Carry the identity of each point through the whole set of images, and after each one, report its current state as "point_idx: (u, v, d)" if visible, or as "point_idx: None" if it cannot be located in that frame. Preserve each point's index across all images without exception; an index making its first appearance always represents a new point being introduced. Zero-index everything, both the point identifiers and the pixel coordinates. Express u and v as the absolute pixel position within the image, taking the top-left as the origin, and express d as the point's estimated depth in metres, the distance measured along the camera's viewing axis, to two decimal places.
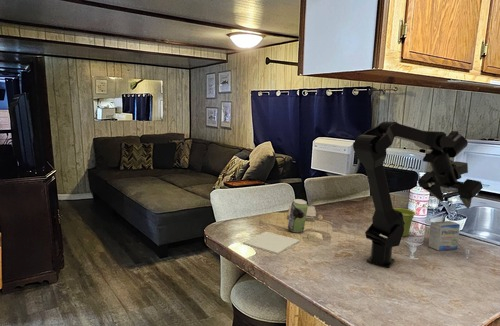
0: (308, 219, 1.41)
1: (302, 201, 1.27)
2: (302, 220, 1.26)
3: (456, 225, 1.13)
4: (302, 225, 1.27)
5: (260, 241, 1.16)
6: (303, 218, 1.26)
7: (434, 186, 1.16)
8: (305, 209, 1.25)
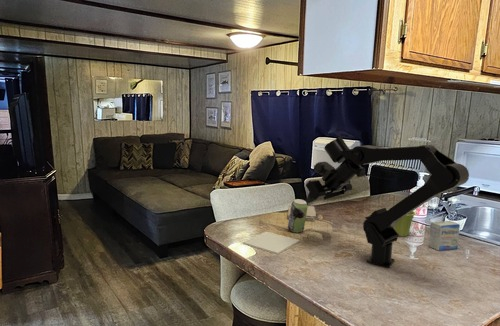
0: (308, 219, 1.41)
1: (302, 201, 1.27)
2: (302, 220, 1.26)
3: (456, 225, 1.13)
4: (302, 225, 1.27)
5: (260, 241, 1.16)
6: (303, 218, 1.26)
7: None
8: (305, 209, 1.25)
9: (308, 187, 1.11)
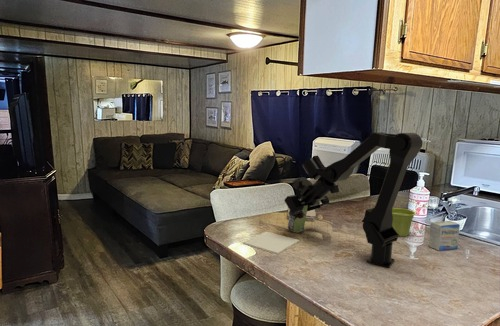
0: (308, 219, 1.41)
1: None
2: (302, 220, 1.26)
3: (456, 225, 1.13)
4: (302, 225, 1.27)
5: (260, 241, 1.16)
6: (303, 218, 1.26)
7: None
8: (305, 209, 1.25)
9: (286, 202, 1.19)
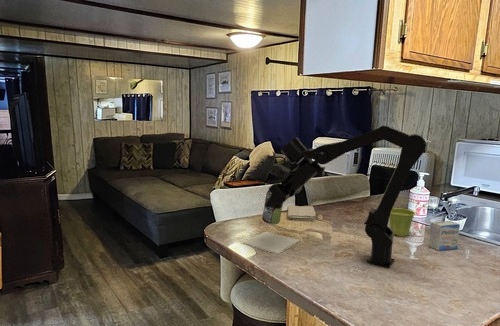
0: (308, 219, 1.41)
1: None
2: (280, 210, 1.14)
3: (456, 225, 1.13)
4: (280, 216, 1.15)
5: (260, 241, 1.16)
6: (281, 208, 1.14)
7: None
8: None
9: (272, 191, 1.05)
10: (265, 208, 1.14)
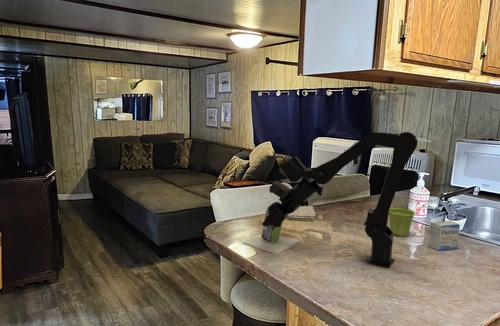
0: (308, 219, 1.41)
1: None
2: (280, 228, 1.14)
3: (456, 225, 1.13)
4: (279, 234, 1.15)
5: (260, 241, 1.16)
6: (280, 226, 1.15)
7: None
8: None
9: (271, 211, 1.05)
10: (265, 226, 1.14)
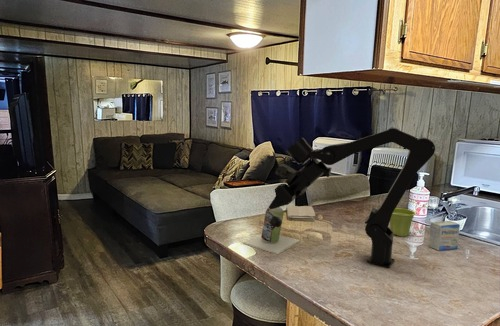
0: (308, 219, 1.41)
1: (276, 208, 1.16)
2: (279, 228, 1.14)
3: (456, 225, 1.13)
4: (279, 234, 1.15)
5: (260, 241, 1.16)
6: (280, 226, 1.15)
7: None
8: (282, 216, 1.14)
9: (278, 192, 1.03)
10: (264, 226, 1.14)
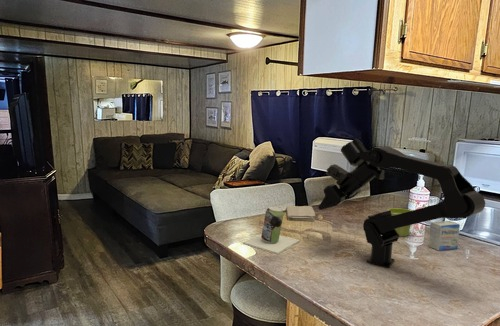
0: (308, 219, 1.41)
1: (276, 208, 1.16)
2: (279, 228, 1.14)
3: (456, 225, 1.13)
4: (279, 234, 1.15)
5: (260, 241, 1.16)
6: (280, 226, 1.15)
7: None
8: (282, 216, 1.14)
9: (327, 193, 1.03)
10: (264, 226, 1.14)
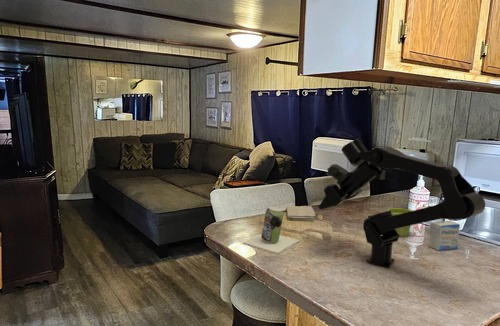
0: (308, 219, 1.41)
1: (276, 208, 1.16)
2: (279, 228, 1.14)
3: (456, 225, 1.13)
4: (279, 234, 1.15)
5: (260, 241, 1.16)
6: (280, 226, 1.15)
7: None
8: (282, 216, 1.14)
9: (327, 192, 1.03)
10: (264, 226, 1.14)
